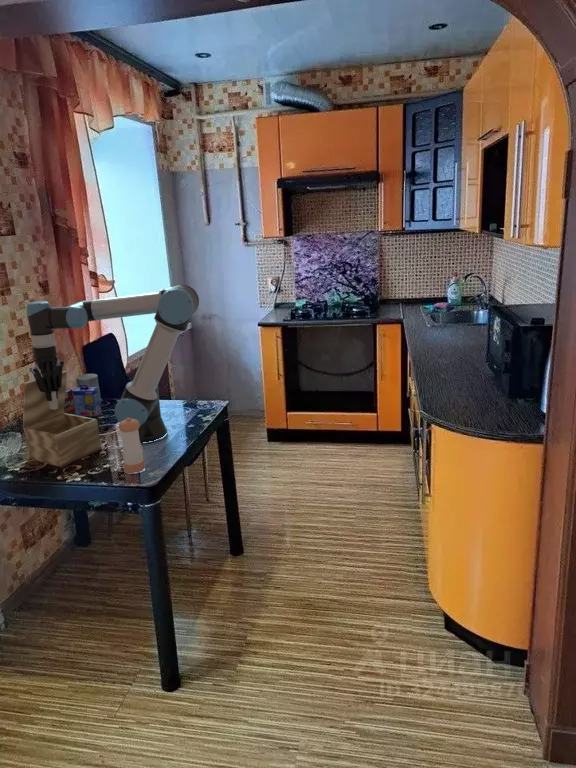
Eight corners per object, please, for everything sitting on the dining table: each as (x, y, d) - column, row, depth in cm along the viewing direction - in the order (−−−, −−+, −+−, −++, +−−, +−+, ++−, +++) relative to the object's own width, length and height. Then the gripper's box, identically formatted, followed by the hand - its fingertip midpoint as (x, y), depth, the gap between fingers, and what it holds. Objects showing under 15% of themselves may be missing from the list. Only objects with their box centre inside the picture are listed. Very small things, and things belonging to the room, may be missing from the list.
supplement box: (66, 431, 231) (60, 395, 226) (56, 431, 231) (50, 394, 227) (78, 424, 239) (72, 389, 234) (68, 423, 240) (62, 388, 235)
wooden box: (101, 448, 211) (97, 419, 207) (62, 467, 196) (56, 435, 192) (68, 441, 219) (64, 413, 216) (29, 458, 204) (23, 428, 201)
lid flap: (66, 371, 208) (65, 370, 208) (25, 383, 194) (24, 382, 194) (63, 412, 216) (62, 412, 216) (23, 427, 201) (22, 426, 201)
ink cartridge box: (75, 416, 248) (70, 385, 244) (80, 412, 254) (75, 382, 250) (97, 416, 248) (92, 385, 244) (101, 412, 253) (97, 381, 249)
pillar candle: (79, 402, 269) (74, 372, 265) (100, 399, 273) (96, 369, 268) (80, 408, 260) (76, 377, 256) (102, 404, 264) (98, 374, 260)
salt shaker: (120, 474, 188) (113, 421, 183) (129, 465, 195) (123, 414, 189) (140, 475, 187) (133, 422, 181) (149, 466, 193) (143, 414, 188)
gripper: (52, 341, 204) (61, 402, 211) (20, 348, 193) (31, 412, 200) (66, 342, 201) (75, 404, 207) (35, 350, 190) (45, 415, 196)
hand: (54, 408), depth 203 cm, fingers closed
